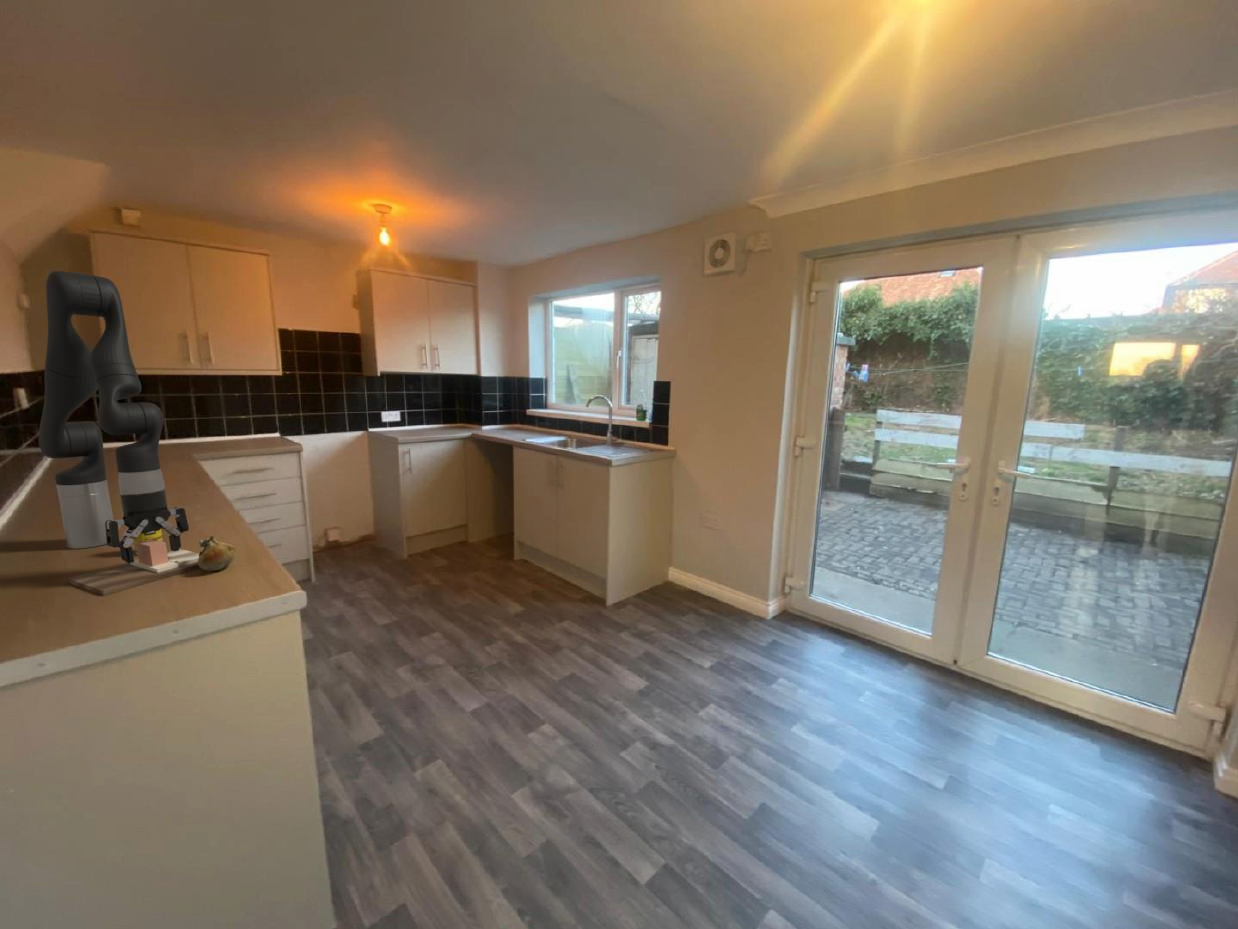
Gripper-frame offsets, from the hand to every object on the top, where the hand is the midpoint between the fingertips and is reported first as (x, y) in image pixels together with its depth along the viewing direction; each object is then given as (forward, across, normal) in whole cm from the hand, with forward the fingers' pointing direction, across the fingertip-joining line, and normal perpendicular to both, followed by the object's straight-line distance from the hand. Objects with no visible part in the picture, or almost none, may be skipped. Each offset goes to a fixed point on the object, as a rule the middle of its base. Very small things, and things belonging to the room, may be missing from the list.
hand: (153, 556), depth 117 cm
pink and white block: (+2, 0, 0) cm, 2 cm away
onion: (+4, -6, +13) cm, 15 cm away
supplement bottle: (+4, -6, -16) cm, 18 cm away
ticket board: (+3, +2, 0) cm, 4 cm away
